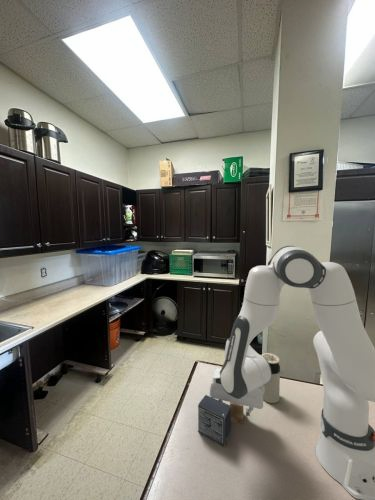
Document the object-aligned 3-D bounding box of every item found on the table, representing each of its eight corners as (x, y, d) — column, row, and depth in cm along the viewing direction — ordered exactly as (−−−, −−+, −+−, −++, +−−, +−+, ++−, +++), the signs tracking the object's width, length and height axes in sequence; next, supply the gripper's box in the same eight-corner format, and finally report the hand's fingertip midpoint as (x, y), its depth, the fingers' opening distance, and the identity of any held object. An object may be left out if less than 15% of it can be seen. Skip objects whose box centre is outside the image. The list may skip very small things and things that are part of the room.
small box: (231, 432, 76) (232, 405, 75) (224, 448, 70) (225, 418, 69) (205, 419, 81) (205, 393, 81) (197, 432, 76) (197, 404, 75)
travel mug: (269, 406, 87) (270, 365, 86) (256, 393, 94) (256, 355, 93) (283, 400, 90) (284, 360, 89) (269, 388, 98) (269, 350, 96)
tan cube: (243, 413, 84) (243, 401, 83) (242, 424, 79) (242, 411, 79) (230, 410, 85) (230, 398, 85) (229, 420, 80) (229, 408, 80)
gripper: (264, 377, 81) (263, 411, 81) (211, 367, 87) (211, 399, 87) (265, 389, 75) (264, 425, 75) (208, 377, 81) (208, 411, 81)
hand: (235, 411), depth 81 cm, fingers open, 8 cm apart
